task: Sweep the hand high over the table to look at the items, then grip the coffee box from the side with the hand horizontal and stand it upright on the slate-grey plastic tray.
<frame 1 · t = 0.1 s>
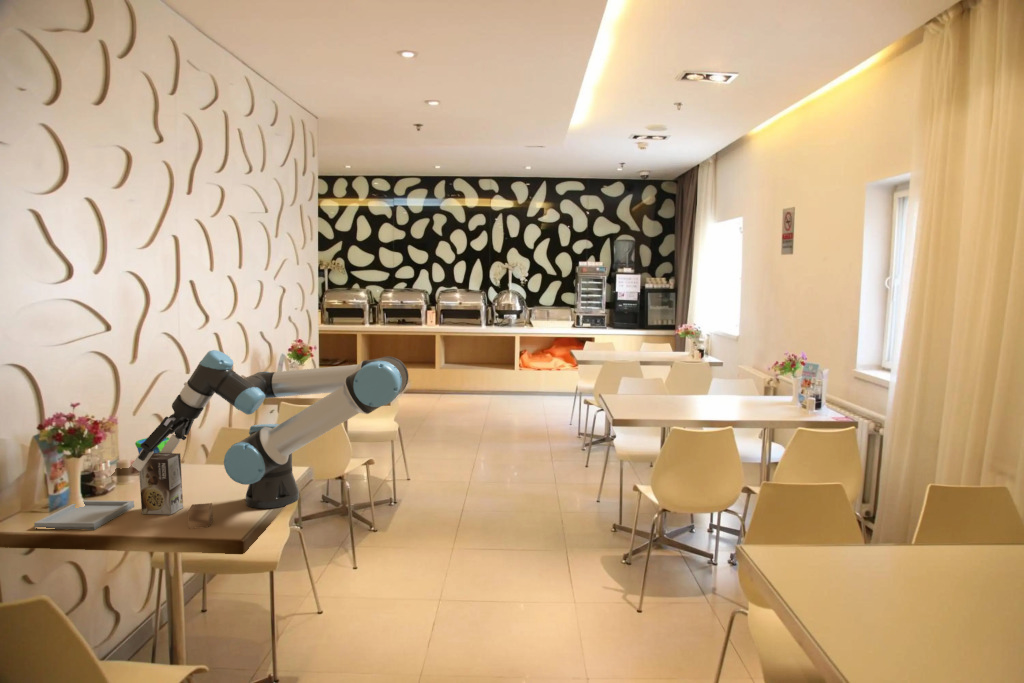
hand: (150, 461, 187), 15 cm above the table, tool tilted 35°, fingers open, 13 cm apart
walnut block: (200, 524, 181), on the table
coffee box: (162, 511, 192), on the table, touching gripper
snack cup: (154, 469, 234), on the table
tray: (86, 517, 186), on the table
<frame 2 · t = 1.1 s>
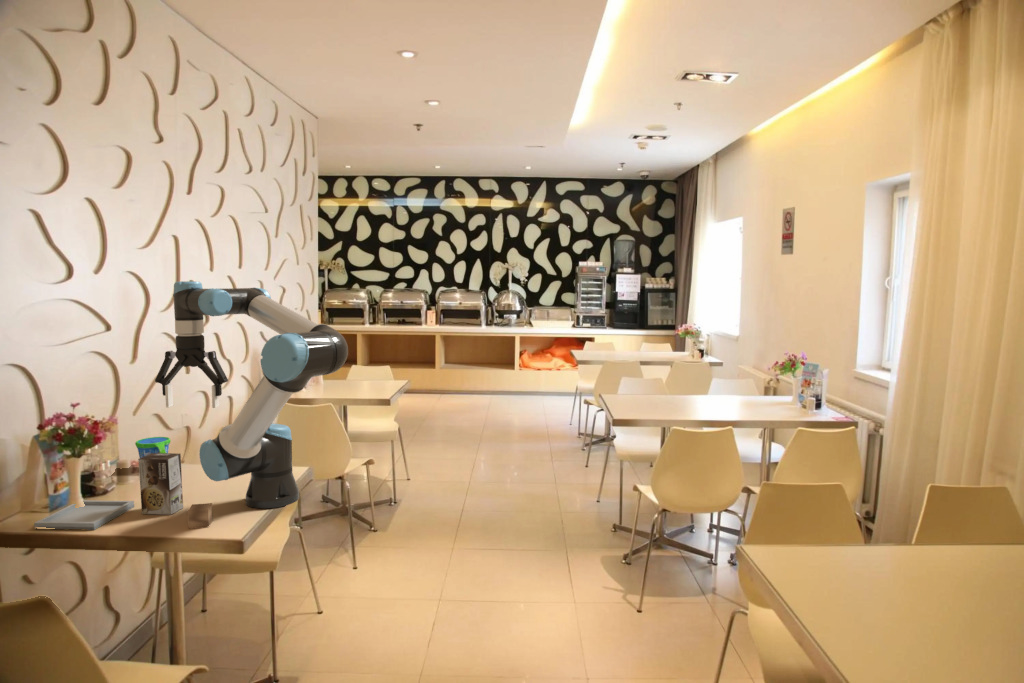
hand: (192, 406, 196), 29 cm above the table, tool pointing down, fingers open, 13 cm apart
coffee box: (162, 511, 192), on the table
everything else where it was.
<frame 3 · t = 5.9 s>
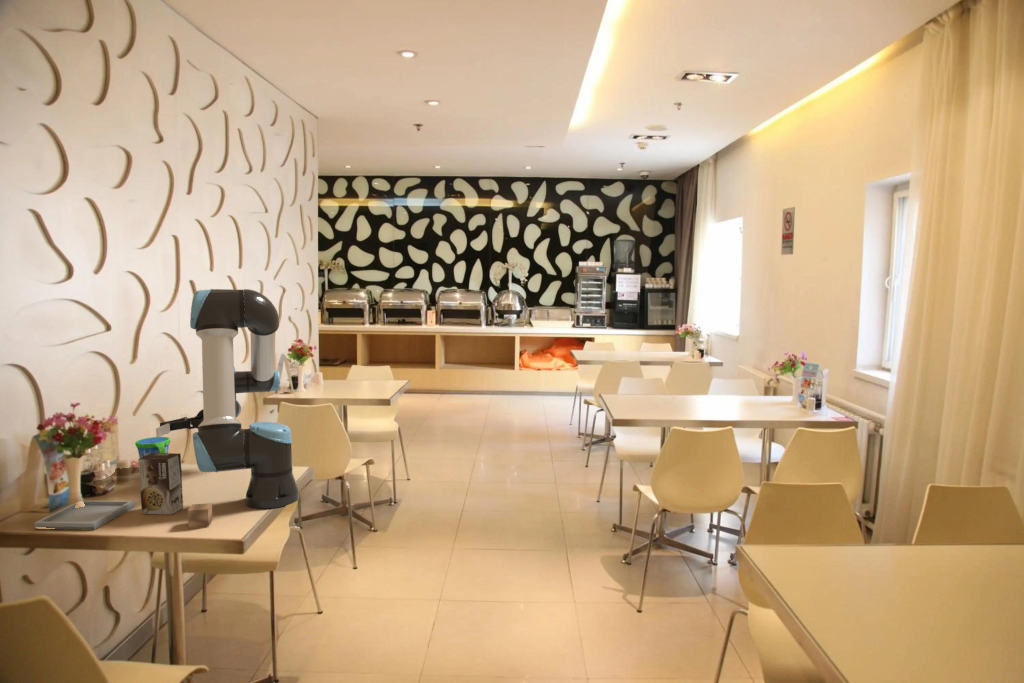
hand: (179, 433, 201), 20 cm above the table, tool horizontal, fingers open, 13 cm apart
nothing on the table moved.
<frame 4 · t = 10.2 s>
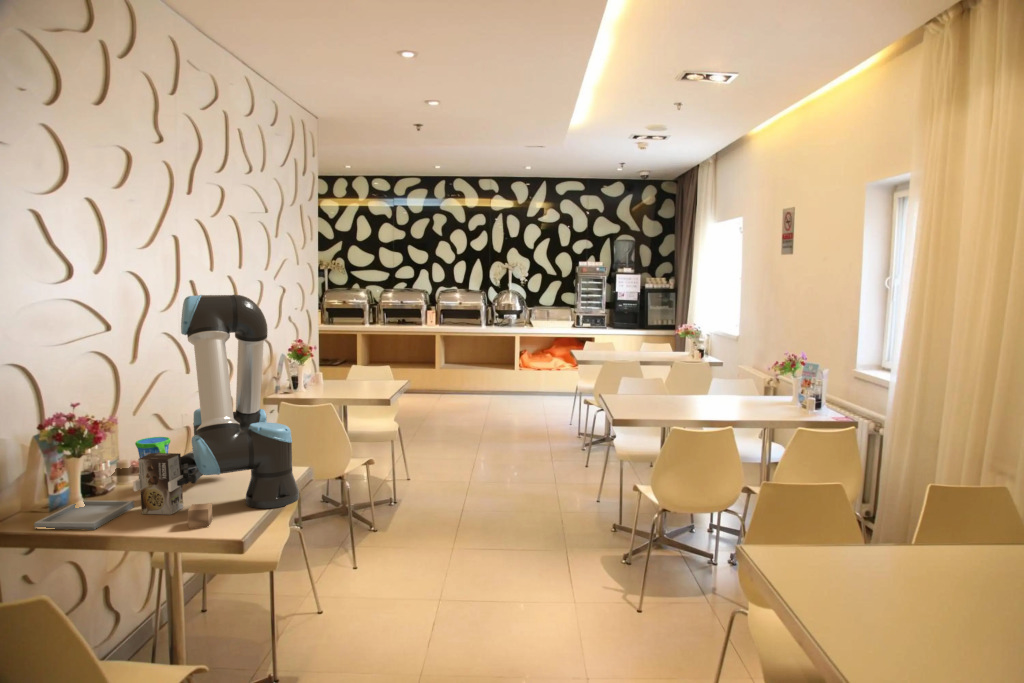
hand: (152, 486, 186), 9 cm above the table, tool horizontal, fingers closed on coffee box, 9 cm apart
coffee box: (162, 511, 192), on the table, touching gripper
everything else where it was.
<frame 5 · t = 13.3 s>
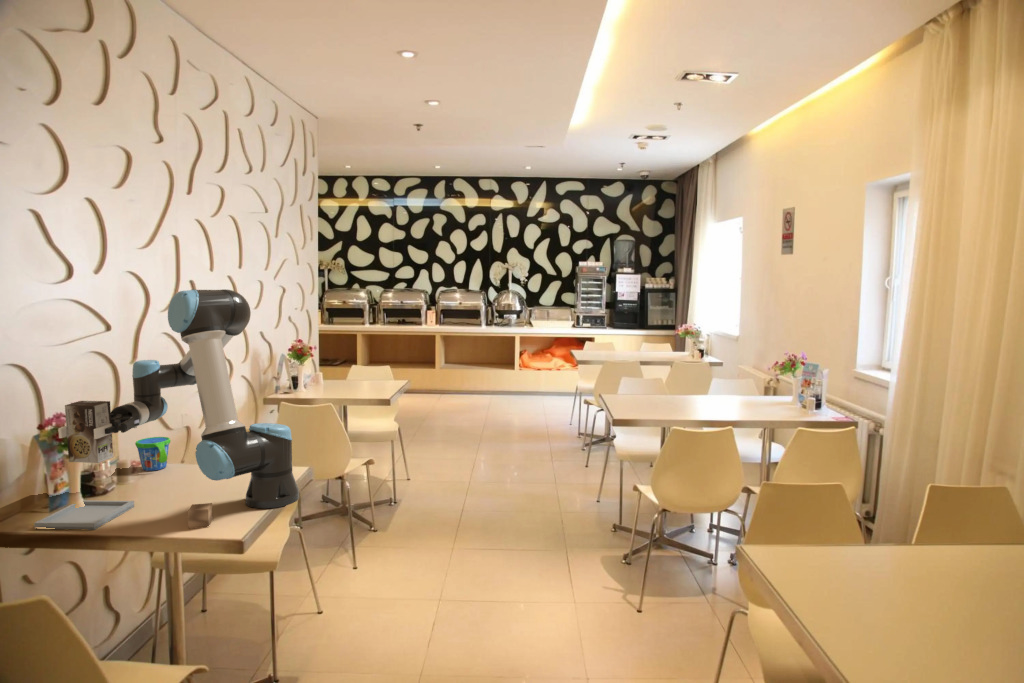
hand: (77, 433, 181), 24 cm above the table, tool horizontal, fingers closed on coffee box, 9 cm apart
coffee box: (91, 460, 186), point 16 cm above the table, touching gripper
everything else where it was.
when the fingers open (11 cm above the table, at t = 16.5 s): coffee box drops 1 cm, resting on tray.
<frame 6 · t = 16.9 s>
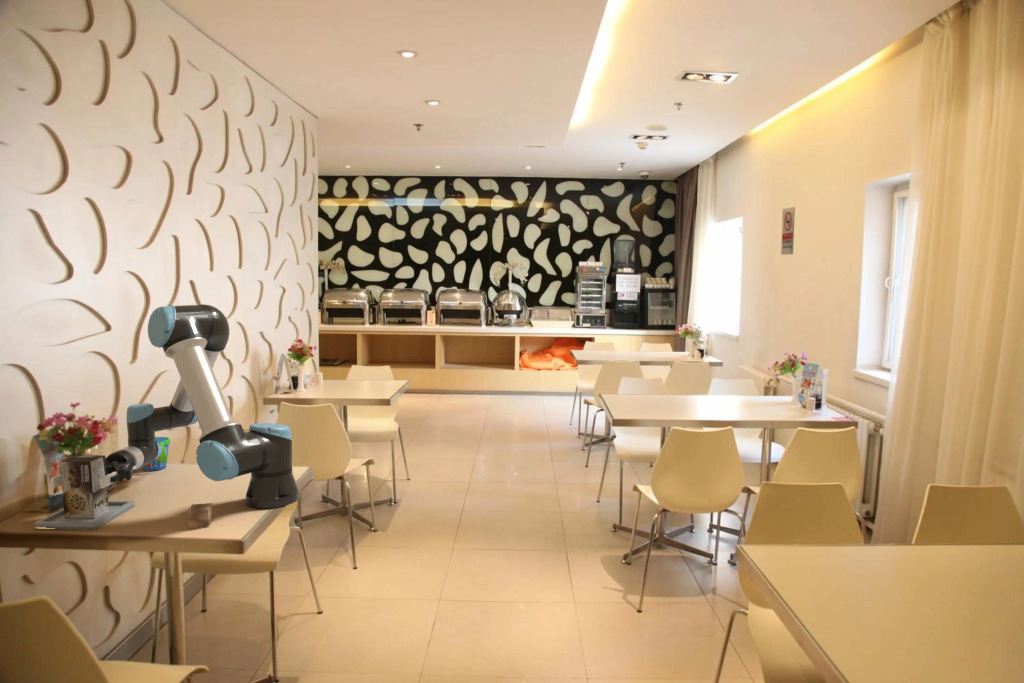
hand: (76, 483, 182), 11 cm above the table, tool horizontal, fingers open, 13 cm apart
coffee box: (86, 515, 186), point 1 cm above the table, touching tray
everything else where it was.
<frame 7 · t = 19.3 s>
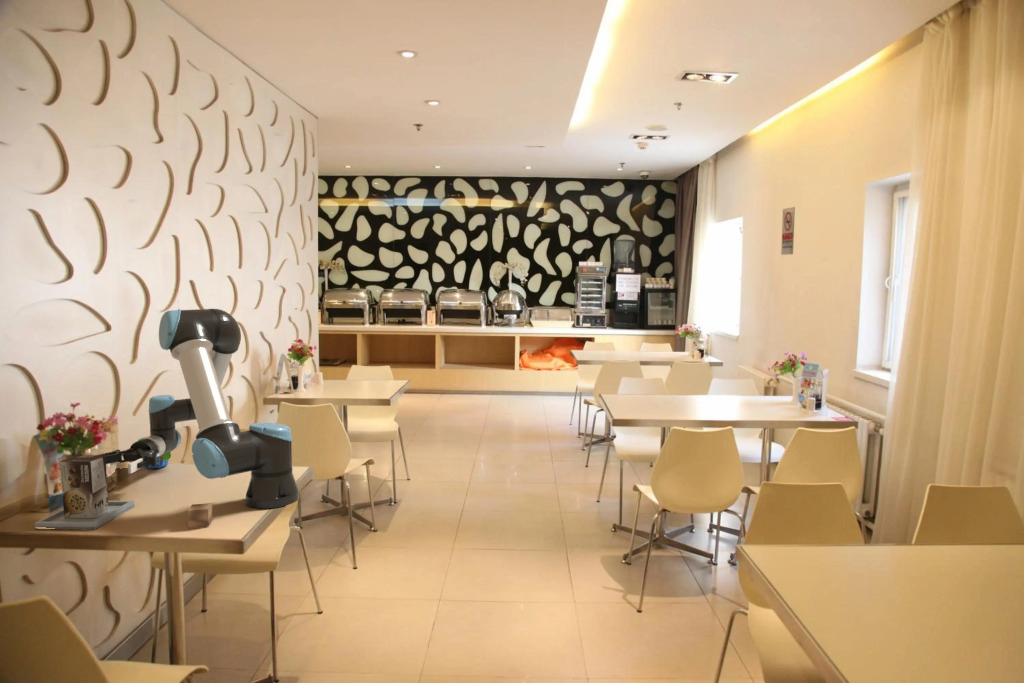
hand: (106, 468, 194), 11 cm above the table, tool horizontal, fingers open, 13 cm apart
snack cup: (155, 467, 235), on the table, touching arm
everything else where it was.
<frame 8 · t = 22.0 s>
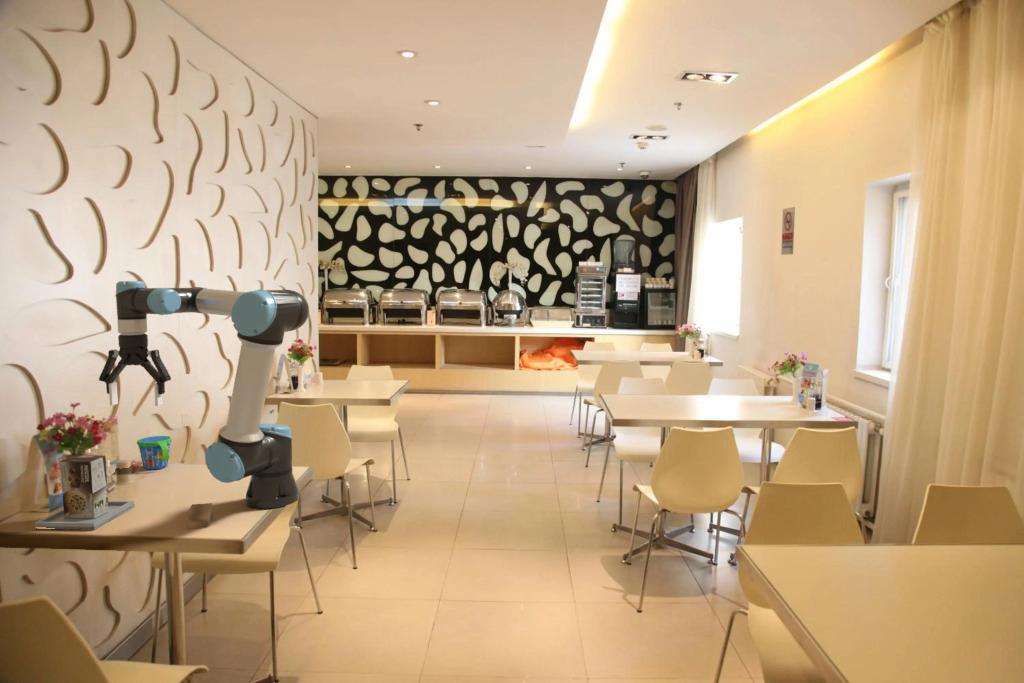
hand: (136, 404, 199), 29 cm above the table, tool pointing down, fingers open, 13 cm apart
snack cup: (155, 467, 235), on the table
everything else where it was.
at the end: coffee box inside the target area on the tray (0.2 cm from its centre), point 0.6 cm above the tray's base; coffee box tilted 0°; the gripper is holding nothing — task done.
